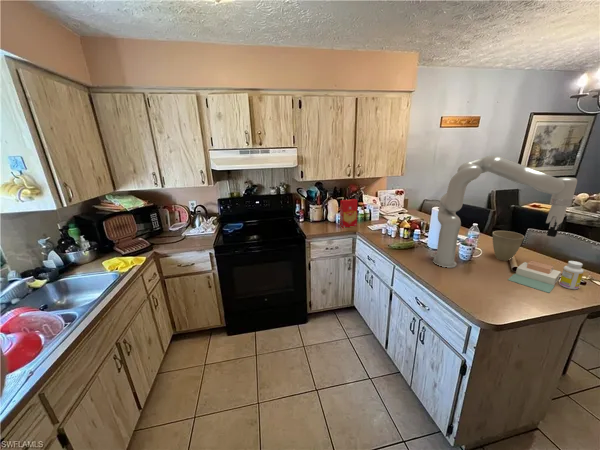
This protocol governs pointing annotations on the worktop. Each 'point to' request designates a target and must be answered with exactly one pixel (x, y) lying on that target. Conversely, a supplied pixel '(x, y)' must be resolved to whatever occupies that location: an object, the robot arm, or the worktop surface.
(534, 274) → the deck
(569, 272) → the supplement bottle
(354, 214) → the food packaging
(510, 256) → the plant pot
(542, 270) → the tile
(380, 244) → the worktop surface
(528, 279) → the mat
